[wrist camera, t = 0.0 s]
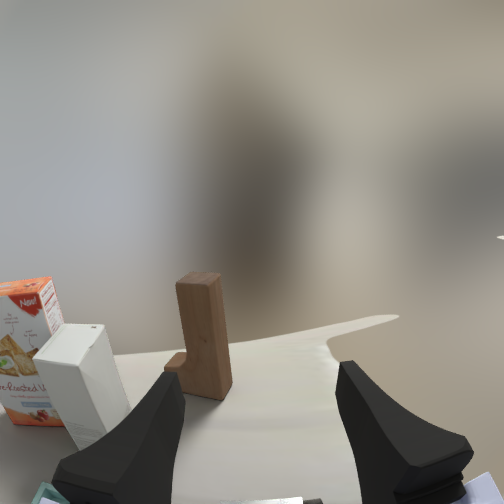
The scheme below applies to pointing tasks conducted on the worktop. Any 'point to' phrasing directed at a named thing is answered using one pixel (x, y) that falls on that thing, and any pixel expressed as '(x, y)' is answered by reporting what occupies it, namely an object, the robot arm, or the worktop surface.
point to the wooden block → (202, 337)
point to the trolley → (276, 501)
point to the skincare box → (83, 381)
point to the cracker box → (27, 349)
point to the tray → (49, 494)
